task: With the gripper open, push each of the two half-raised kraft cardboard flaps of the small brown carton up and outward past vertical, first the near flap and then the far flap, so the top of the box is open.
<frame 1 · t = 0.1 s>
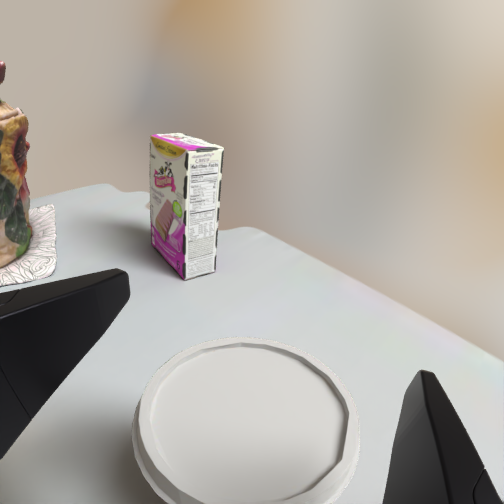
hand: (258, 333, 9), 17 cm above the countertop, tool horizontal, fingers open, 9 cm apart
candy bar box: (180, 259, 44), on the countertop
disposable coffee cup: (233, 500, 17), on the countertop
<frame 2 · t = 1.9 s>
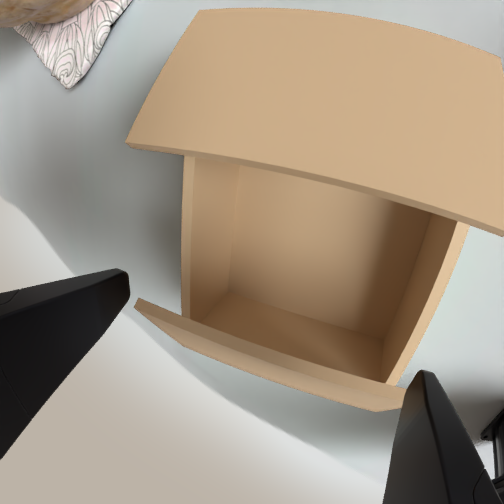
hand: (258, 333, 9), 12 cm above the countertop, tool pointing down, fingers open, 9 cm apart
carton: (332, 198, 19), on the countertop
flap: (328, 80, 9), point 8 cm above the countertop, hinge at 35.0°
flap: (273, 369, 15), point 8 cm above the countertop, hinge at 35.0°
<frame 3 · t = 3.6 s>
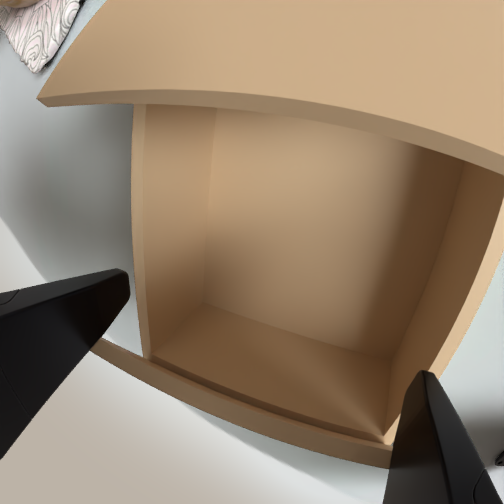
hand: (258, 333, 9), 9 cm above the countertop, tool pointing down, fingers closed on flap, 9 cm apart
carton: (328, 186, 15), on the countertop
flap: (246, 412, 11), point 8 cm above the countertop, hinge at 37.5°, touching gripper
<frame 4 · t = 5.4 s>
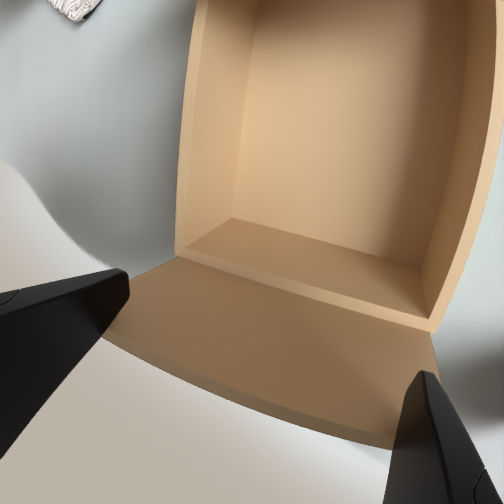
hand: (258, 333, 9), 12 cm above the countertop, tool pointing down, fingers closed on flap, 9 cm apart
carton: (352, 97, 15), on the countertop
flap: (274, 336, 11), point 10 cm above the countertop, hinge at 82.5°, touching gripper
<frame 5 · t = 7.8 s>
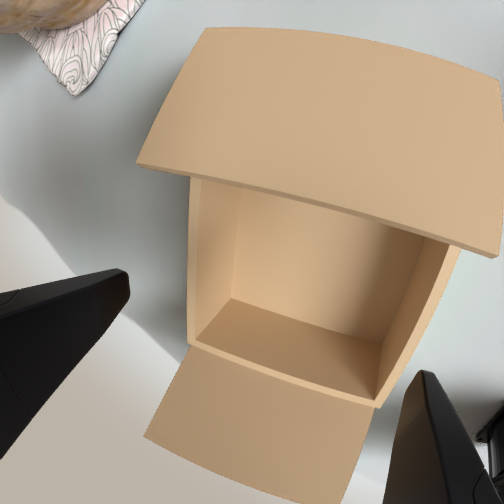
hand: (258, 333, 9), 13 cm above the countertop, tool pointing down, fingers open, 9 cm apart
carton: (333, 210, 20), on the countertop
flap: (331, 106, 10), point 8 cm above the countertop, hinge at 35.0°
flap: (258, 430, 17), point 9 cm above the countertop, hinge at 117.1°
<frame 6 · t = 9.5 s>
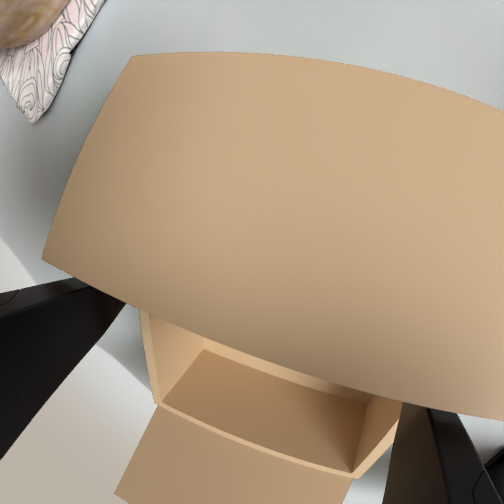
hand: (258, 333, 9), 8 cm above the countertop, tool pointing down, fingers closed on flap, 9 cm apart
carton: (314, 266, 17), on the countertop
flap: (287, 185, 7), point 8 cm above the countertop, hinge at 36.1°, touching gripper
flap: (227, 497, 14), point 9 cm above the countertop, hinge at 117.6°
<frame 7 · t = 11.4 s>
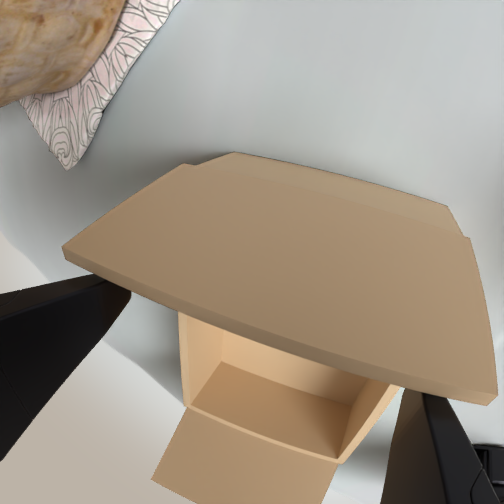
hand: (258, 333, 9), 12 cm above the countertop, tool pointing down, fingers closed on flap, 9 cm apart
carton: (309, 303, 22), on the countertop
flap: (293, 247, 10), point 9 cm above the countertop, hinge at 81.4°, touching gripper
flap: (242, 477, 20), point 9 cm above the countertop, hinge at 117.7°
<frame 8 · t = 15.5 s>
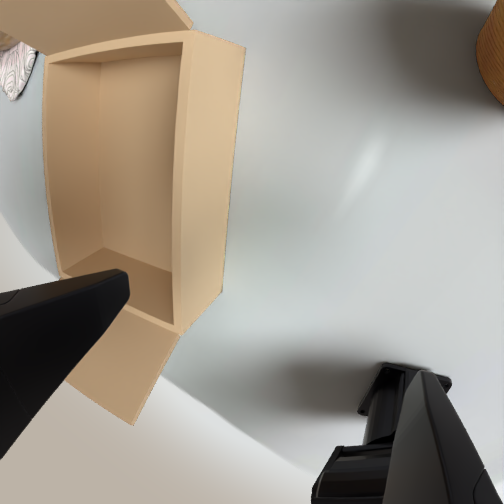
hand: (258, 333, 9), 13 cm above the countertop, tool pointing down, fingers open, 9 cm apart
carton: (154, 165, 23), on the countertop
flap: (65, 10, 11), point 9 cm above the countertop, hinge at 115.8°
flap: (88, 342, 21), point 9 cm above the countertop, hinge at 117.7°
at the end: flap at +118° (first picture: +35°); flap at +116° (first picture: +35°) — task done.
